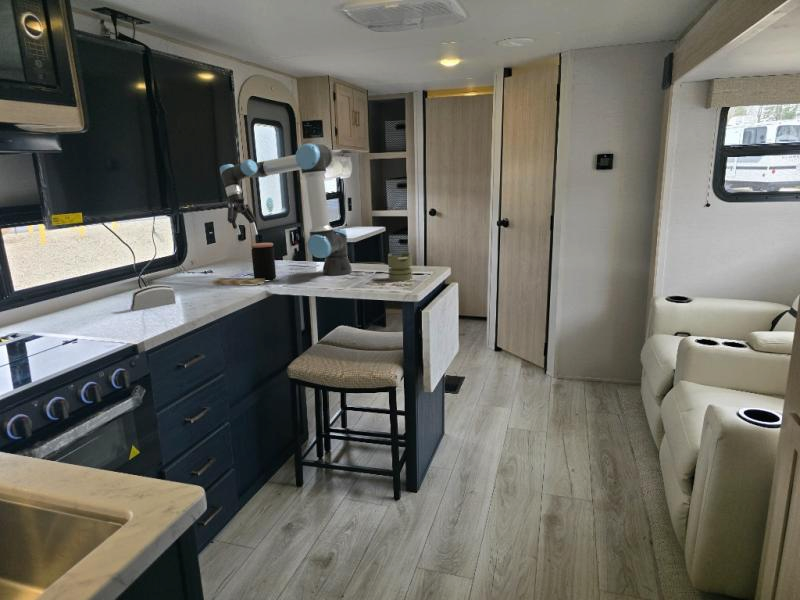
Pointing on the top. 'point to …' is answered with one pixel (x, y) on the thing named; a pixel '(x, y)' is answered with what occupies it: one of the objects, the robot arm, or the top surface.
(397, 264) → the piston
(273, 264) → the coffee jar
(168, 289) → the beige arched block
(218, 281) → the oak board
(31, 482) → the top surface
